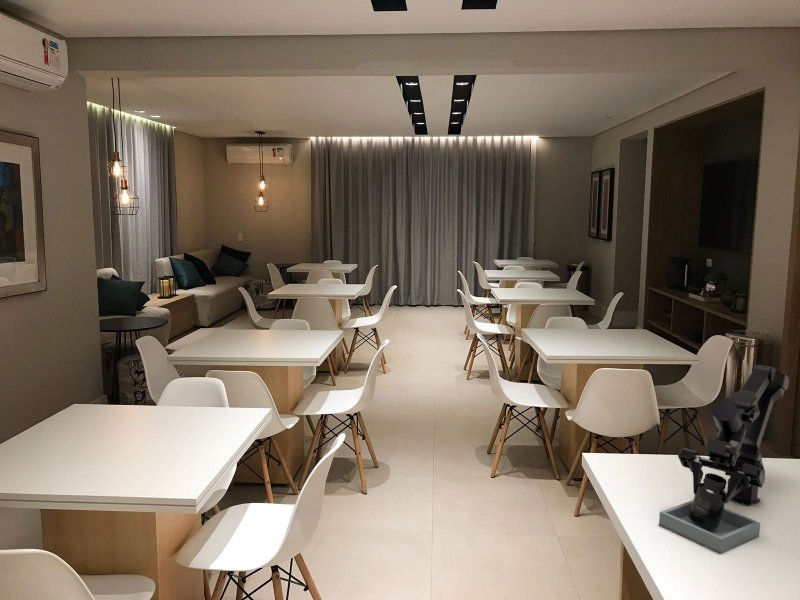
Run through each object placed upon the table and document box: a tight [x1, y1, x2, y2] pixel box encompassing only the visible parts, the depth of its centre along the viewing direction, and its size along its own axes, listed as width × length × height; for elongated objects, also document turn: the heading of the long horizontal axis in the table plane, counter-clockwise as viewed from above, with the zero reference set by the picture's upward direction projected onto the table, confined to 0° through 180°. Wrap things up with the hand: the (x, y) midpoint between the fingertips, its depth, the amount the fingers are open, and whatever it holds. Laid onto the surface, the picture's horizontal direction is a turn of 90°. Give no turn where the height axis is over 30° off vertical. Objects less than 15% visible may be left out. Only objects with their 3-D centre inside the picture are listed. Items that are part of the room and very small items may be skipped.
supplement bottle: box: [689, 472, 728, 529], centre depth 162 cm, size 7×7×12 cm
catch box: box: [658, 500, 761, 555], centre depth 163 cm, size 16×16×4 cm
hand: (709, 497), depth 161 cm, fingers closed on supplement bottle, 7 cm apart
